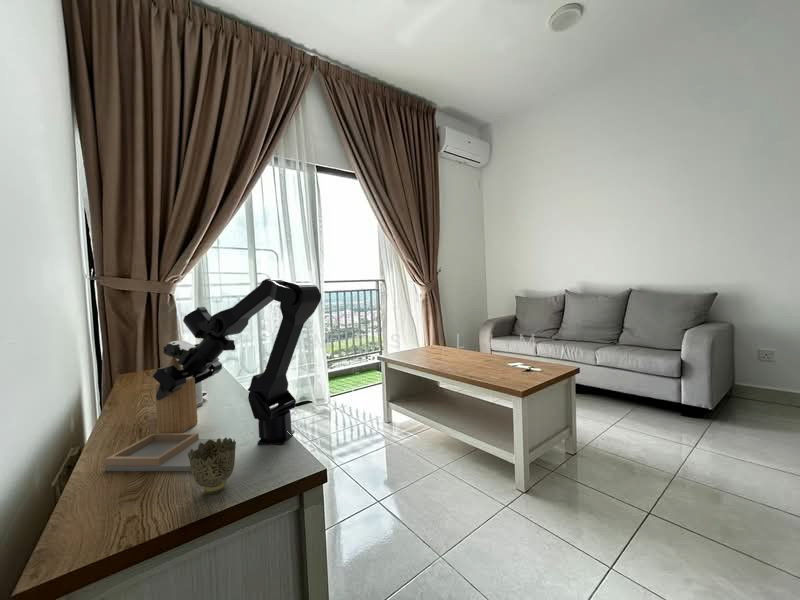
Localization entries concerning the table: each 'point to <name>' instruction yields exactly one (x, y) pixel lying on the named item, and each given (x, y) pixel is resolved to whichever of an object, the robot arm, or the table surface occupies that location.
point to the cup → (213, 464)
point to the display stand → (157, 453)
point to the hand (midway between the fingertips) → (171, 393)
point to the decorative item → (177, 407)
